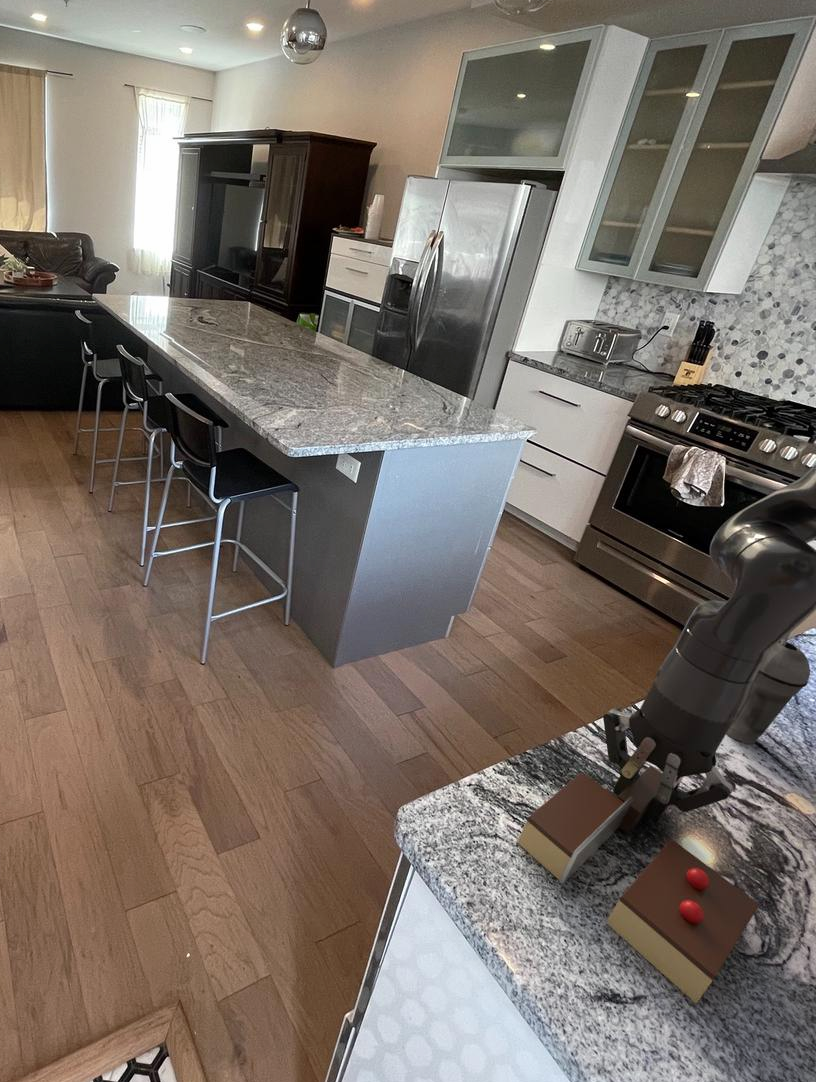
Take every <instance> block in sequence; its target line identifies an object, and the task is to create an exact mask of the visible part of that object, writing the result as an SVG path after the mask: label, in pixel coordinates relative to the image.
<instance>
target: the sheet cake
mask: <svg viewBox="0 0 816 1082" xmlns="http://www.w3.org/2000/svg"><path fill="white" fill-rule="evenodd" d="M759 906H760V904H759V903H758V902H757V901H755V900H754V899H753V898H752V897H750V896H749V895H748V894H746V893H745V892H743V891H742V890H741V889H739V887H737V886H736V885H734V884H733V883H732V882H731V881H729V880H727V879H726V878H725V877H723V876H722V875H720V873H718V872H717V871H715V870H714V869H713V868H711V867H710V866H708V865H707V863H705V862H703V861H702V860H701V859H699V858H698V857H697V856H696V855H694V854H693V853H691V852H690V851H689V850H688V849H686V848H685V847H683V845H680V844H679V843H678V842H677V841H676V840H674V839H672V838H670V840H669V841H668V842H667V843H666V844H665V845H664V846H663V848H661V850H660V851H659V852H658V853H657V854H656V856H654V858H653V859H652V860H651V862H649V864H647V866H646V867H645V868H644V869H643V871H642V872H641V873H640V874H639V875H638V876H637V878H635V880H634V881H633V882H632V883H631V884H630V885H629V887H628V888H627V889H626V890H625V891H624V892H623V893H622V894H621V895H620V898H619V899H618V901H617V902H616V904H615V906H614V908H613V909H612V911H611V913H610V915H609V917H608V918H607V920H606V922H605V923H606V925H608V927H610V928H611V929H612V930H613V931H614V932H615V933H617V934H618V936H620V937H621V938H622V939H623V940H625V941H626V942H627V943H628V944H629V945H630V946H631V947H632V948H633V949H635V950H636V951H637V952H638V953H639V954H640V956H642V957H643V958H644V959H645V960H647V962H649V963H650V964H651V965H652V966H653V967H654V968H656V970H658V971H659V972H660V973H661V974H662V975H664V977H666V979H668V980H669V982H671V983H672V984H673V985H675V987H676V988H678V989H679V990H680V991H681V992H682V993H683V994H684V995H686V996H687V997H688V998H689V999H690V1000H691V1001H692V1003H695V1004H697V1003H698V1002H699V1001H700V999H701V998H702V997H703V995H704V993H706V991H707V989H708V988H709V987H710V985H711V984H712V982H713V981H714V980H715V978H716V977H717V975H718V973H719V972H720V970H721V969H722V967H723V965H724V964H725V962H726V960H727V959H728V957H729V956H730V954H731V952H732V951H733V949H734V947H735V946H736V944H737V942H738V941H739V939H740V938H741V936H742V934H743V932H744V931H745V929H746V928H747V927H748V925H749V923H750V921H751V920H752V918H753V916H754V914H755V913H756V911H757V910H758V908H759Z"/></svg>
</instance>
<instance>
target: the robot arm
mask: <svg viewBox="0 0 816 1082" xmlns="http://www.w3.org/2000/svg"><path fill="white" fill-rule="evenodd" d="M813 540H816V463H815V464H814V466H812V467H810V469H809V470H808V471H806V472H805V473H804V474H803V476H801V477H800V478H798V479H796V480H795V481H792V482H791V483H789V484H786V485H784V486H783V487H780V488H779V489H777V490H775V491H773V492H771V493H770V494H768V495H766V496H764V497H763V498H760V499H759V500H757V501H755V502H753V503H752V504H750V505H748V506H747V507H745V508H743V509H741V510H739V511H738V512H737V513H735V514H733V515H732V516H731V517H730V518H728V519H727V520H726V521H725V522H724V523H723V524H722V525H721V526H720V527H719V529H717V531H716V532H715V534H714V536H713V537H712V540H711V542H710V545H709V556H710V560H711V562H712V564H713V566H714V567H715V568H716V569H717V570H718V571H719V572H720V573H721V574H722V575H723V576H724V578H726V579H727V580H728V581H729V582H730V583H731V584H732V585H733V586H734V590H733V591H732V592H733V593H732V594H731V596H730V598H728V600H727V601H723V600H715V599H714V600H706V601H703V602H701V603H699V604H698V605H697V606H696V607H695V608H694V609H693V611H692V612H691V614H690V615H689V617H688V619H687V621H686V623H685V625H684V627H683V629H682V631H681V633H680V635H679V637H678V639H677V641H676V643H675V644H674V646H673V648H672V649H671V650H670V651H669V653H668V654H667V655H666V657H665V658H664V661H663V662H662V664H661V666H660V667H659V668H658V670H657V672H656V675H655V678H654V680H653V682H652V684H651V687H650V688H649V690H648V692H647V694H646V696H645V697H644V700H643V702H642V704H641V706H640V708H639V709H638V710H635V711H634V712H633V713H629V712H624V711H623V710H622V709H621V708H620V707H618V706H614V707H613V708H611V709H609V710H608V711H607V712H606V713H604V714H603V715H602V716H603V717H602V720H603V727H604V728H603V729H604V734H605V744H606V751H607V758H608V760H609V762H611V763H612V764H614V765H617V766H618V767H619V769H620V771H621V772H620V773H621V774H620V775H619V777H618V779H617V780H616V783H615V785H614V787H613V794H615V796H616V797H617V798H618V796H619V795H620V794H621V793H622V792H623V791H624V790H625V789H626V788H627V787H628V786H630V785H631V784H632V783H633V782H634V781H635V780H636V779H637V778H638V777H640V775H641V774H640V771H641V770H642V768H643V767H644V765H646V763H649V764H651V765H654V766H655V767H656V768H658V769H659V771H660V772H661V773H663V774H662V777H661V780H660V787H659V790H658V793H657V794H656V795H655V796H654V797H653V800H652V802H651V804H650V805H649V807H648V809H647V811H646V813H645V814H644V816H643V818H642V820H641V821H643V822H645V823H646V824H649V823H650V822H653V823H654V824H656V823H658V822H659V821H660V820H661V819H662V818H663V817H664V816H665V814H666V812H667V810H668V808H669V807H670V806H674V807H676V808H677V809H678V810H679V812H682V813H688V812H690V811H695V810H697V809H699V808H703V807H706V806H708V805H709V806H710V805H712V804H715V803H719V802H721V801H724V800H727V799H728V798H729V797H730V796H731V794H732V793H733V792H734V790H735V789H736V787H737V784H736V782H735V781H734V780H732V779H731V778H729V777H724V776H723V774H722V773H721V772H720V771H719V770H718V768H717V767H716V764H717V758H716V753H717V750H718V749H719V747H720V745H721V744H722V742H723V741H724V738H725V736H726V735H727V734H726V733H727V732H728V730H729V728H730V726H731V725H732V723H733V721H734V720H735V718H736V716H737V715H738V713H739V711H740V709H741V707H742V706H743V704H744V702H745V700H746V698H747V696H748V693H749V690H750V687H751V684H752V682H753V680H754V679H755V677H756V675H757V673H758V672H759V670H760V668H761V666H762V665H763V663H764V661H765V659H766V658H767V656H768V654H769V652H770V650H771V648H772V647H774V646H775V645H776V644H777V643H779V642H780V641H781V640H783V639H784V638H785V637H786V636H788V635H789V634H790V635H791V633H793V631H794V630H796V628H798V627H799V626H800V625H801V624H803V623H804V621H806V620H808V618H809V617H810V616H811V615H812V614H813V613H815V612H816V549H815V547H813V546H811V544H809V543H810V542H812V541H813ZM790 635H789V636H790ZM629 727H630V731H631V734H632V737H633V742H634V744H635V745H634V746H635V748H636V749H635V751H634V752H633V753H632V755H630V754H629V749H628V743H627V742H628V741H627V735H626V730H627V729H628V728H629ZM703 774H705V778H704V780H703V781H702V785H701V786H699V787H697V788H694V789H691V790H688V791H685V792H684V791H683V790H679V789H680V785H681V783H682V780H683V779H684V778H685V777H690V776H691V777H692V776H697V775H703Z"/></svg>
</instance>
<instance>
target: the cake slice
mask: <svg viewBox="0 0 816 1082" xmlns="http://www.w3.org/2000/svg"><path fill="white" fill-rule="evenodd" d="M623 803H624V802H622V801H621V800H620V799H618V798H617V795H614V793H612V792H610V791H609V790H608V789H606V788H605V787H604V786H602V785H601V784H599V783H598V782H597V781H596V780H594V779H593V778H592V777H590V776H589V775H587V774H586V773H585V772H583V771H582V772H580V773H579V774H578V775H576V776H574V778H573V779H572V780H570V782H568V783H567V784H565V785H564V786H563V787H562V788H561V789H559V790H558V791H557V792H556V793H555V794H554V795H552V797H550V798H549V799H548V800H546V801H545V802H544V803H543V804H542V805H540V807H538V808H537V809H536V810H535V811H534V812H532V813H531V814H530V815H529V816H528V817H527V819H526V821H525V824H524V826H523V828H522V830H521V832H520V834H519V837H518V839H517V841H516V842H517V844H518V845H519V846H520V847H522V849H523V850H525V852H527V853H528V854H529V855H530V856H531V857H532V858H534V859H535V860H536V861H537V862H538V863H539V864H540V865H541V866H543V868H545V869H546V870H547V871H548V872H549V873H551V874H552V876H554V877H555V878H556V879H557V880H558V881H560V879H561V877H562V875H563V873H564V871H565V869H566V867H567V865H568V863H569V861H570V859H571V857H572V855H573V853H574V851H575V850H576V849H577V848H578V847H579V846H580V845H581V844H582V843H583V842H584V841H585V840H586V839H587V838H588V837H590V836H591V835H592V834H593V833H594V832H595V831H596V830H597V829H598V828H599V827H600V826H601V825H602V824H603V823H604V822H605V821H606V820H607V819H608V818H609V817H610V816H611V815H612V814H613V813H614V812H615V811H616V810H617V809H618V808H619V807H620V806H621V805H622V804H623Z"/></svg>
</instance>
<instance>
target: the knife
mask: <svg viewBox="0 0 816 1082" xmlns="http://www.w3.org/2000/svg"><path fill="white" fill-rule="evenodd" d="M662 774H663V772H662V771H661V770H658V769H657V768H655V767H654V766H652V765H650V766H648V767H647V768H646V769H645V770H644V771H643V772H642V773H641V774H640V777H638V778H637V779H636V780H635V781H634V782H633V783H632V784H631V785H630V786H628V787H627V788H626V789H625V790H624V791H623V792H622V793H621V794H620V795H619V796H618V799H620V800H621V801H622V802H624V803H623V804H622V805H621V806H620V807H619V808H618V809H617V810H616V811H615V812H614V813H613V814H612V815H611V816H610V817H609V818H608V819H607V820H606V821H605V822H604V823H603V824H602V825H601V826H600V827H599V828H598V829H597V830H596V831H595V832H594V833H593V834H592V835H591V836H590V837H588V838H587V839H586V840H585V841H584V842H583V843H582V844H581V845H580V846H579V847H578V848H577V849H576V850H575V851H574V853H573V855H572V857H571V859H570V861H569V863H568V865H567V867H566V869H565V871H564V873H563V875H562V877H561V879H560V880H558V881H559V883H560V884H561V885H564V884H565V883H566V882H567V881H568V880H569V879H570V878H571V877H572V876H573V875H574V874H575V873H576V872H577V871H578V870H579V869H580V868H581V867H582V866H583V865H584V864H585V863H586V862H587V861H588V859H590V858H591V856H592V855H593V854H594V853H596V851H597V850H599V848H601V846H602V845H603V844H604V843H605V842H606V841H607V840H608V839H609V838H610V837H611V836H612V835H613V834H614V833H615V832H616V831H617V830H618V829H621V830H622V831H624V833H626V834H628V835H629V834H630V833H631V832H632V831H633V830H634V829H635V827H637V825H638V824H639V823H640V822H641V821H643V820H642V818H643V816H644V814H645V813H646V811H647V809H648V807H649V805H650V804H651V802H652V800H653V797H654V796H655V795H656V794H657V793H658V790H659V787H660V780H661V777H662Z"/></svg>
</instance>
